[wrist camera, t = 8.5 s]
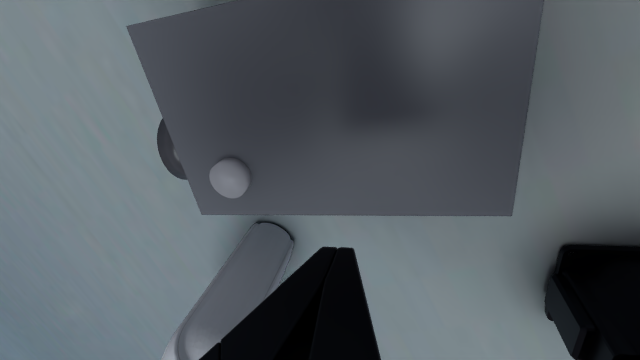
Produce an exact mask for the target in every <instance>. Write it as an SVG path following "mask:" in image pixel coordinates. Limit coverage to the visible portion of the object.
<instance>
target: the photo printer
mask: <svg viewBox="0 0 640 360" xmlns="http://www.w3.org/2000/svg"><path fill="white" fill-rule="evenodd" d="M293 243H294V242H293V241H292V240H291V239H290V236H289V234H288V233H287V232H286V231H285V230H283V229H282V228H280V227H279V226H276V225H274V224H271V223H261V224H257V223H255V224H254V225H253V226H252V227H251V228H250V229H249V230H248V232H247V233H246V234H245V236H244V237H243V239H242V240H241V241H240V243H239V244H238V246H237V247H236V248H235V250H234V251H233V253H232V254H231V255H230V257H229V258H228V259H227V261H226V262H225V264H224V265H223V266H222V268H221V269H220V271H219V272H218V273H217V275H216V276H215V278H214V279H213V280H212V282H211V283H210V285H209V286H208V287H207V289H206V290H205V291H204V293H203V294H202V296H201V297H200V298H199V300H198V301H197V302H196V304H195V305H194V307H193V308H192V309H191V311H190V312H189V314H188V315H187V316H186V318H185V319H184V320H183V322H182V323H181V324H180V326H179V327H178V329H177V330H176V331H175V333H174V334H173V336H172V337H171V339H170V341H169V343H168V345H167V347H166V349H165V352H164V354H163V357H162V359H161V360H199V359H200V358H201V357H202V356H203V355H204V354H206V353H207V352H208V351H209V350H210V349H211V348H212V347H213V346H214V345H215V344H216V343H218V342H220V343H221V339H222V338H223V337H224V336H225V335H226V334H228V333H229V332H230V331H231V330H232V329H233V328H234V327H235V326H236V325H237V324H238V323H240V322H241V321H242V320H243V319H244V318H245V317H246V316H247V315H248V314H249V313H250V312H252V311H253V310H254V309H255V308H256V307H257V306H258V305H259V304H260V303H261V302H262V301H264V300H265V299H266V298H267V297H268V296H269V295H270V294H271V293H272V292H273V291H274V290H276V289H277V287H278V285H279V283H280V280H281V278H282V276H283V273H284V271H285V269H286V267H287V264H288V262H289V259H290V256H291V253H292V248H293Z"/></svg>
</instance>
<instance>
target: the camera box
mask: <svg viewBox="0 0 640 360" xmlns="http://www.w3.org/2000/svg"><path fill="white" fill-rule="evenodd" d="M543 4H544V0H237V1H233V2H229V3H224V4H220V5H216V6H211V7H207V8H203V9H198V10H194V11H190V12H185V13H181V14H177V15H172V16H168V17H164V18H159V19H155V20H151V21H146V22H142V23H138V24H133V25H129V26H126V27H127V29H128V32H129V34H130V37H131V39H132V42H133V44H134V47H135V49H136V52H137V54H138V57H139V59H140V62H141V64H142V67H143V69H144V72H145V74H146V77H147V79H148V82H149V84H150V87H151V89H152V92H153V94H154V97H155V99H156V102H157V104H158V107H159V109H160V112H161V114H162V117H163V119H162V120H161V122H160V125H159V128H158V133H157V145H158V151H159V154H160V157H161V160H162V162H163V164H164V165H165V167H166V168H167V169H168V171H169V172H170V173H171V174H173V175H174V176H176V177H177V178H180V179H184V180H188V182H189V184H190V187H191V189H192V192H193V194H194V197H195V199H196V202H197V204H198V207H199V209H200V212H201V214H202V215H379V216H512V213H513V206H514V199H515V193H516V186H517V179H518V172H519V166H520V159H521V152H522V145H523V139H524V132H525V125H526V118H527V112H528V105H529V98H530V92H531V85H532V78H533V71H534V65H535V58H536V51H537V44H538V38H539V31H540V24H541V17H542V11H543Z"/></svg>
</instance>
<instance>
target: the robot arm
mask: <svg viewBox="0 0 640 360" xmlns="http://www.w3.org/2000/svg"><path fill="white" fill-rule="evenodd" d="M572 252H574V253H572ZM569 253H572V254H569ZM544 302H545V305H546V309H545V314H546V316H547V318H548V319H549V320H551V321H554V323H555V325H556V327H557V329H558V331H559V333H560V335H561V337H562V339H563V341H564V343H565V345H566V347H567V349H568V352H569V354H570V355H571V356H572V357H573V358H574V359H575V360H640V247H629V246H592V245H567V246H564V247H563V248H561V250H560V252H559V256H558V260H557V265H556V269H555V273H553V274H552V275H551V277H550V280H549V284H548V289H547V293H546V297H545V301H544ZM199 360H381V358H380V353H379V349H378V345H377V341H376V337H375V333H374V329H373V325H372V321H371V317H370V313H369V308H368V304H367V300H366V296H365V292H364V288H363V284H362V280H361V276H360V272H359V268H358V263H357V259H356V255H355V251H354V249H353V248H346V247H340V248H338V249H337V248H336V247H322V248H320V249H319V250H318V251H317V252H316V253H315V254H314V255H313V256H312V257H311V258H309V259H308V260H307V261H306V262H305V263H304V264H303V265H302V266H301V267H300V268H299V269H297V270H296V271H295V272H294V273H293V274H292V275H291V276H290V277H289V278H288V279H286V280H285V281H284V282H283V283H282V284H281V285H280V286H279V287H278V288H277V289H276V290H274V291H273V292H272V293H271V294H270V295H269V296H268V297H267V298H266V299H265V300H264V301H262V302H261V303H260V304H259V305H258V306H257V307H256V308H255V309H254V310H253V311H252V312H250V313H249V314H248V315H247V316H246V317H245V318H244V319H243V320H242V321H241V322H240V323H238V324H237V325H236V326H235V327H234V328H233V329H232V330H231V331H230V332H229V333H228V334H226V335H225V336H224V337H223V338H222V339H221V343H220V342H218V343H216V344H215V345H214V346H213V347H212V348H211V349H210V350H209V351H208V352H207V353H206V354H204V355H203V356H202V357H201V358H200V359H199Z"/></svg>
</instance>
